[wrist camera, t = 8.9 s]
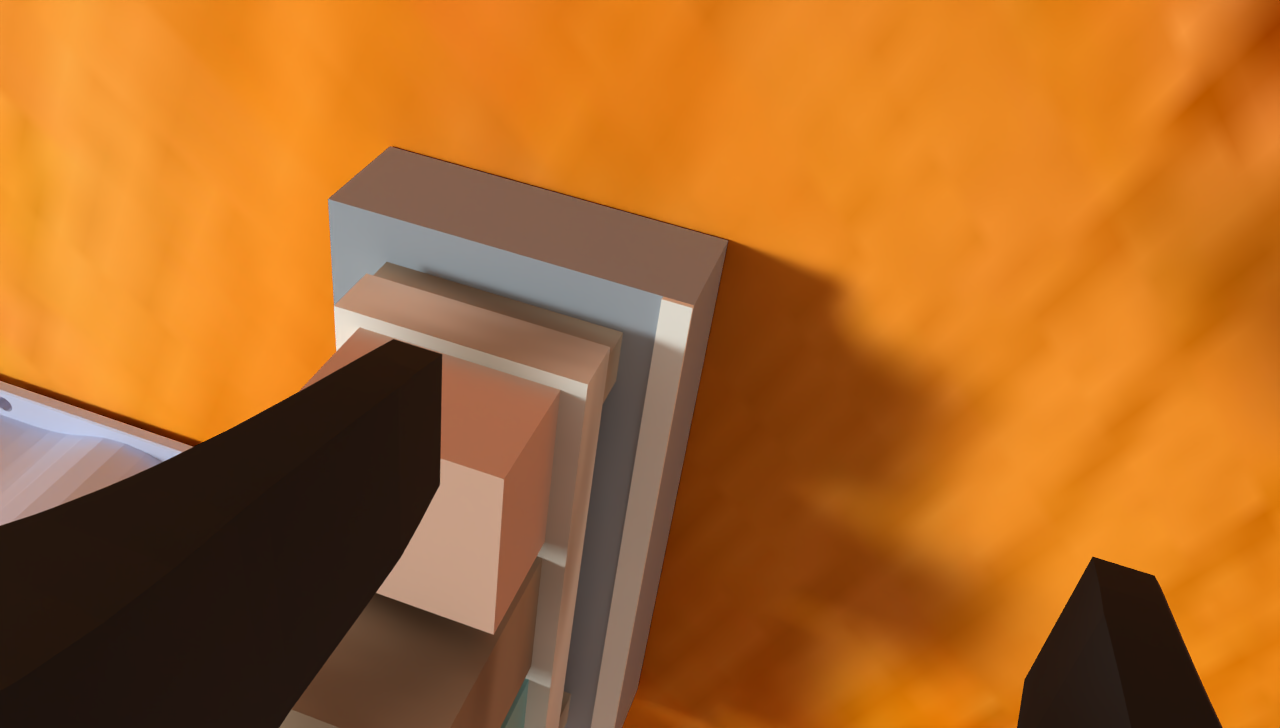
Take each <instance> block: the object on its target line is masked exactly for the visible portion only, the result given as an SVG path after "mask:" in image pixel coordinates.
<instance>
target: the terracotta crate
mask: <svg viewBox="0 0 1280 728" xmlns="http://www.w3.org/2000/svg"><path fill="white" fill-rule="evenodd" d="M393 339H395V338H392V337H389V336H386V335H383V334H379V333H376V332H373V331H370V330H367V329H363V328H360V327H359V328H358V329H357V330H356V331H355V332H354V333H353V335H352V336H351V337H350V338H349V339H348V340H347V341H346V342H345V343H344V344H343V345H342V346H341V347H340V348H339V349H338V351H337V352H336V353H335V354H334V355H333V356H332V357H331V358H330V359H329V360H328V361H327V362H326V363H325V364H324V365H323V366H322V368H321V369H320V370H319V371H318V372H317V373H316V374H315V375H314V376H313V377H312V378H311V379H310V380H309V381H308V382H307V384H306V385H305V386H304V387H303V388H302V389H301V390H303V389H305V388H306V387H308V386H310V385H312V384H314V383H315V382H317V381H319V380H321V379H322V378H324V377H326V376H328V375H330V374H331V373H333V372H335V371H337V370H338V369H340V368H342V367H344V366H345V365H347V364H349V363H351V362H353V361H354V360H356V359H358V358H360V357H362V356H363V355H365V354H367V353H369V352H371V351H372V350H374V349H376V348H378V347H380V346H381V345H383V344H385V343H387V342H389V341H391V340H393ZM395 340H398V341H401V342H405V341H402V340H399V339H395ZM405 343H408V342H405ZM408 344H411V345H414V346H417V347H421V346H418V345H415V344H412V343H408ZM421 348H424V347H421ZM424 349H427V350H430V351H434V350H431V349H428V348H424ZM434 352H437V351H434ZM437 353H440V352H437ZM440 354H442V403H441V460H440V486H439V488H438V490H437V492H436V493H435V495H434V497H433V499H432V501H431V503H430V505H429V507H428V509H427V511H426V513H425V514H424V516H423V518H422V520H421V522H420V524H419V526H418V528H417V529H416V531H415V533H414V535H413V537H412V538H411V540H410V542H409V544H408V546H407V547H406V549H405V551H404V553H403V555H402V556H401V558H400V559H399V561H398V562H397V564H396V565H395V567H394V568H393V570H392V571H391V572H390V574H389V575H388V577H387V578H386V579H385V581H384V582H383V584H382V585H381V586H380V588H379V589H378V591H377V592H376V593H378V594H381V595H383V596H386V597H389V598H392V599H395V600H397V601H400V602H403V603H406V604H409V605H411V606H414V607H417V608H420V609H423V610H426V611H428V612H431V613H434V614H437V615H440V616H442V617H445V618H448V619H451V620H454V621H456V622H459V623H462V624H465V625H468V626H471V627H473V628H476V629H479V630H482V631H485V632H487V633H490V634H493V635H494V633H495V631H496V630H497V628H498V626H499V624H500V622H501V621H502V619H503V617H504V615H505V613H506V611H507V610H508V608H509V606H510V604H511V602H512V601H513V599H514V597H515V595H516V593H517V591H518V590H519V588H520V586H521V584H522V582H523V581H524V579H525V577H526V575H527V573H528V571H529V570H530V568H531V566H532V564H533V562H534V561H535V559H536V557H537V555H538V553H539V551H540V550H541V548H542V546H543V544H544V542H545V535H546V525H547V516H548V506H549V496H550V487H551V477H552V467H553V458H554V448H555V439H556V429H557V419H558V410H559V400H560V390H559V389H556V388H553V387H550V386H546V385H543V384H540V383H537V382H534V381H530V380H527V379H524V378H521V377H517V376H514V375H511V374H508V373H505V372H501V371H498V370H495V369H492V368H489V367H485V366H482V365H479V364H476V363H473V362H469V361H466V360H463V359H460V358H456V357H453V356H450V355H447V354H444V353H440ZM301 390H300V391H301Z"/></svg>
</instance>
